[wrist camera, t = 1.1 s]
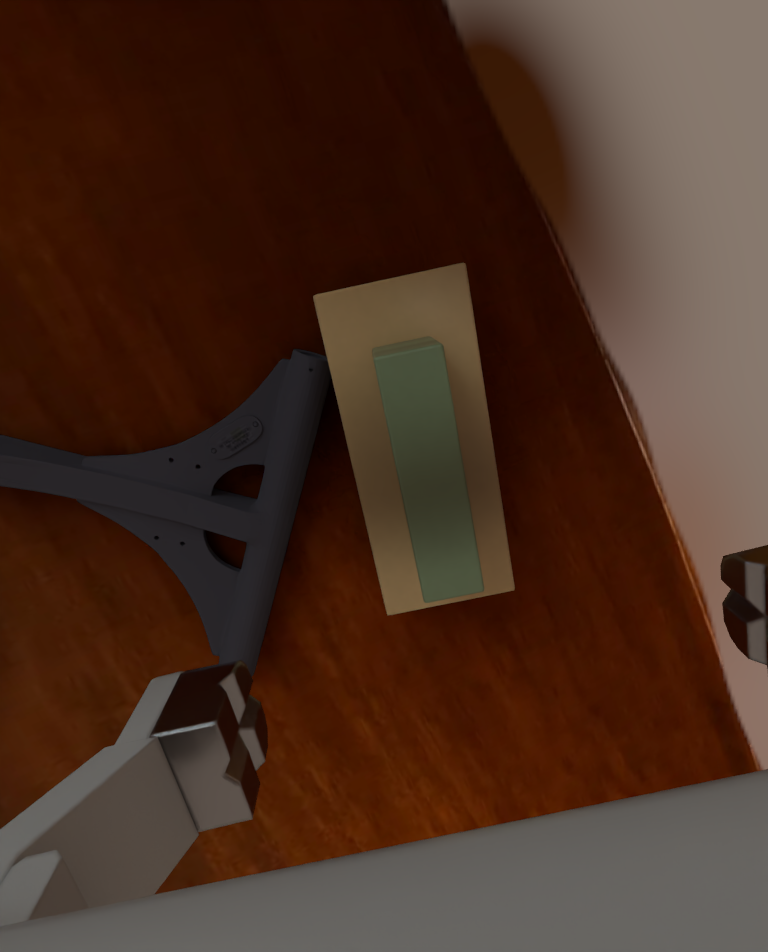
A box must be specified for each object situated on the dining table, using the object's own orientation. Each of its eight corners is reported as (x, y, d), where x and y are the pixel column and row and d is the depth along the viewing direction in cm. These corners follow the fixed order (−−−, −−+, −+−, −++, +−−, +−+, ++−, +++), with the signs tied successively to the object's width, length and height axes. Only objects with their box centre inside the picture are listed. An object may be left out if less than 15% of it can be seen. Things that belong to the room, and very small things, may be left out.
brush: (320, 295, 22) (302, 295, 15) (449, 267, 22) (485, 255, 15) (383, 572, 25) (390, 665, 19) (494, 549, 25) (538, 636, 19)
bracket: (-60, 244, 21) (-122, 237, 18) (336, 358, 22) (333, 367, 20) (-78, 586, 25) (-131, 621, 22) (258, 659, 27) (246, 700, 24)
